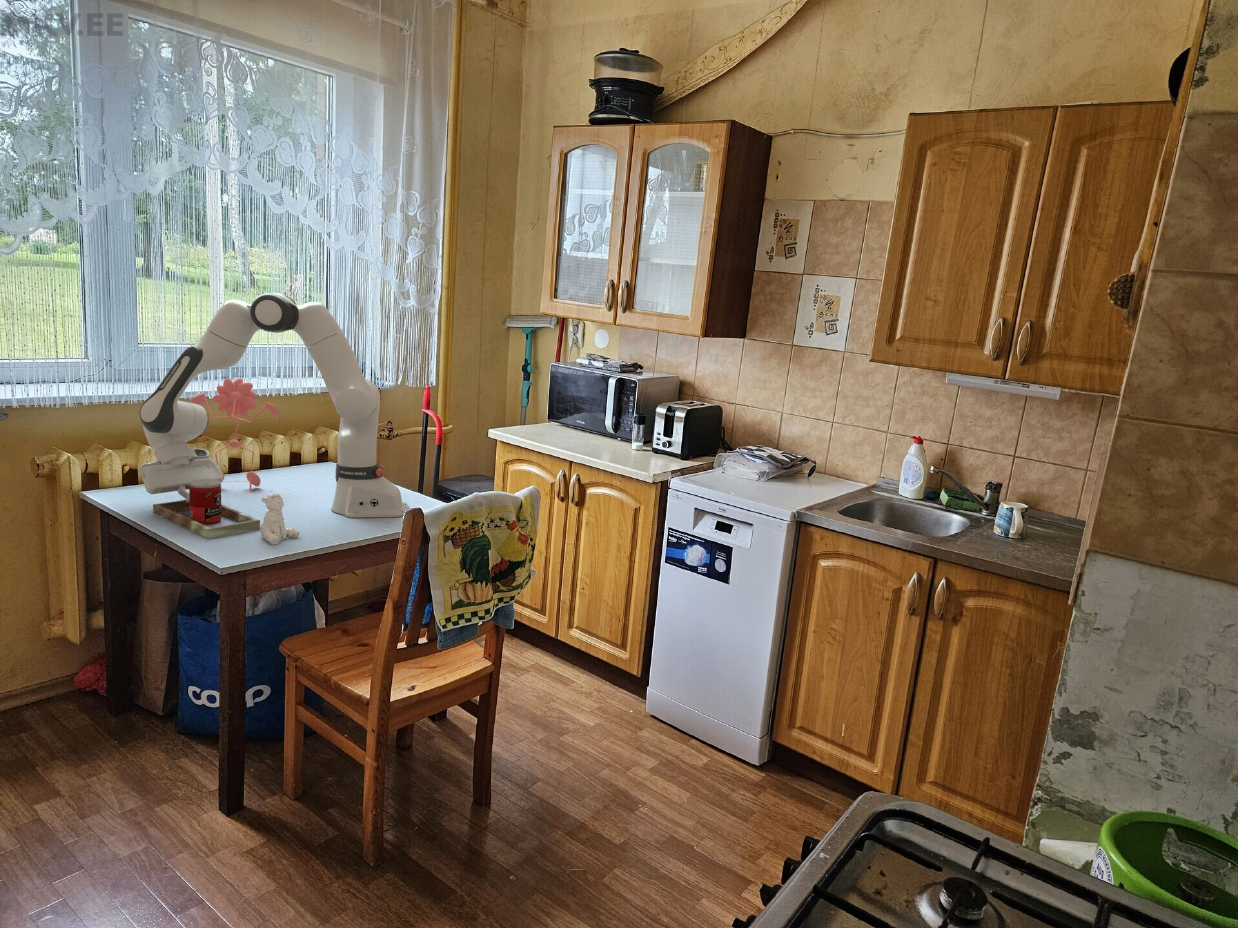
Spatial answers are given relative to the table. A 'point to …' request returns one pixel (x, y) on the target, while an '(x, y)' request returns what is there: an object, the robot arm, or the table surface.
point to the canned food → (205, 501)
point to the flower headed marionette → (236, 401)
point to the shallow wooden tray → (174, 516)
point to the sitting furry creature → (275, 521)
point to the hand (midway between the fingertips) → (193, 500)
